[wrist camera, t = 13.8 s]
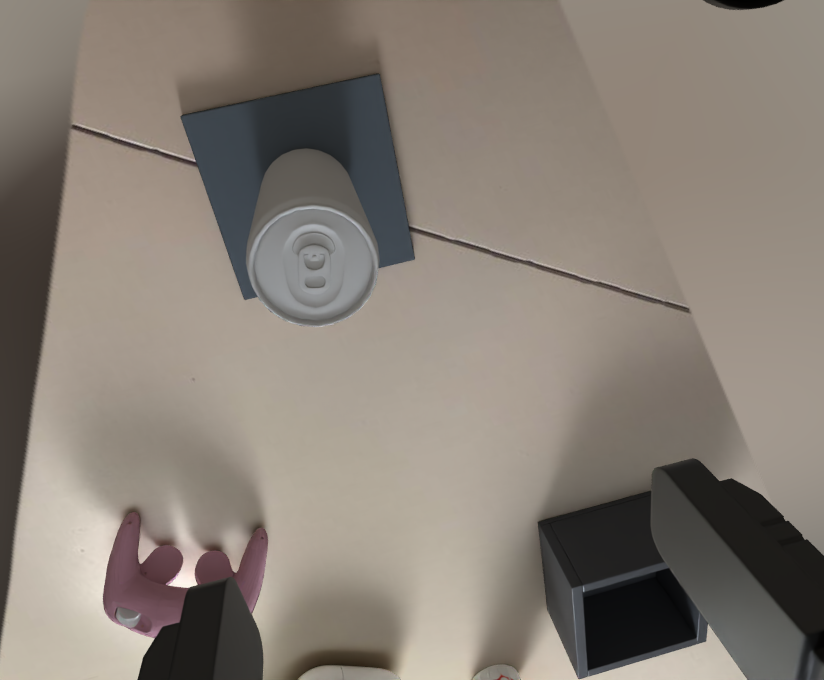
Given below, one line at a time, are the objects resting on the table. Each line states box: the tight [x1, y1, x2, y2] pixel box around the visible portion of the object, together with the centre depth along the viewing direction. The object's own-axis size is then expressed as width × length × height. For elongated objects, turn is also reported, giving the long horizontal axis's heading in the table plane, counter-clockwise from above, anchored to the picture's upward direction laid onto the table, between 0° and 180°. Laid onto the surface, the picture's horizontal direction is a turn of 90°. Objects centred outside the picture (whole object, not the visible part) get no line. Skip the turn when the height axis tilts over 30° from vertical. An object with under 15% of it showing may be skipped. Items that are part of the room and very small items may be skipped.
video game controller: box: [103, 512, 268, 638], centre depth 39 cm, size 10×5×7 cm, turn 70°
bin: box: [538, 491, 708, 679], centre depth 46 cm, size 11×11×6 cm
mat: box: [181, 74, 415, 300], centre depth 31 cm, size 10×10×1 cm
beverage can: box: [246, 148, 380, 327], centre depth 26 cm, size 5×5×12 cm
